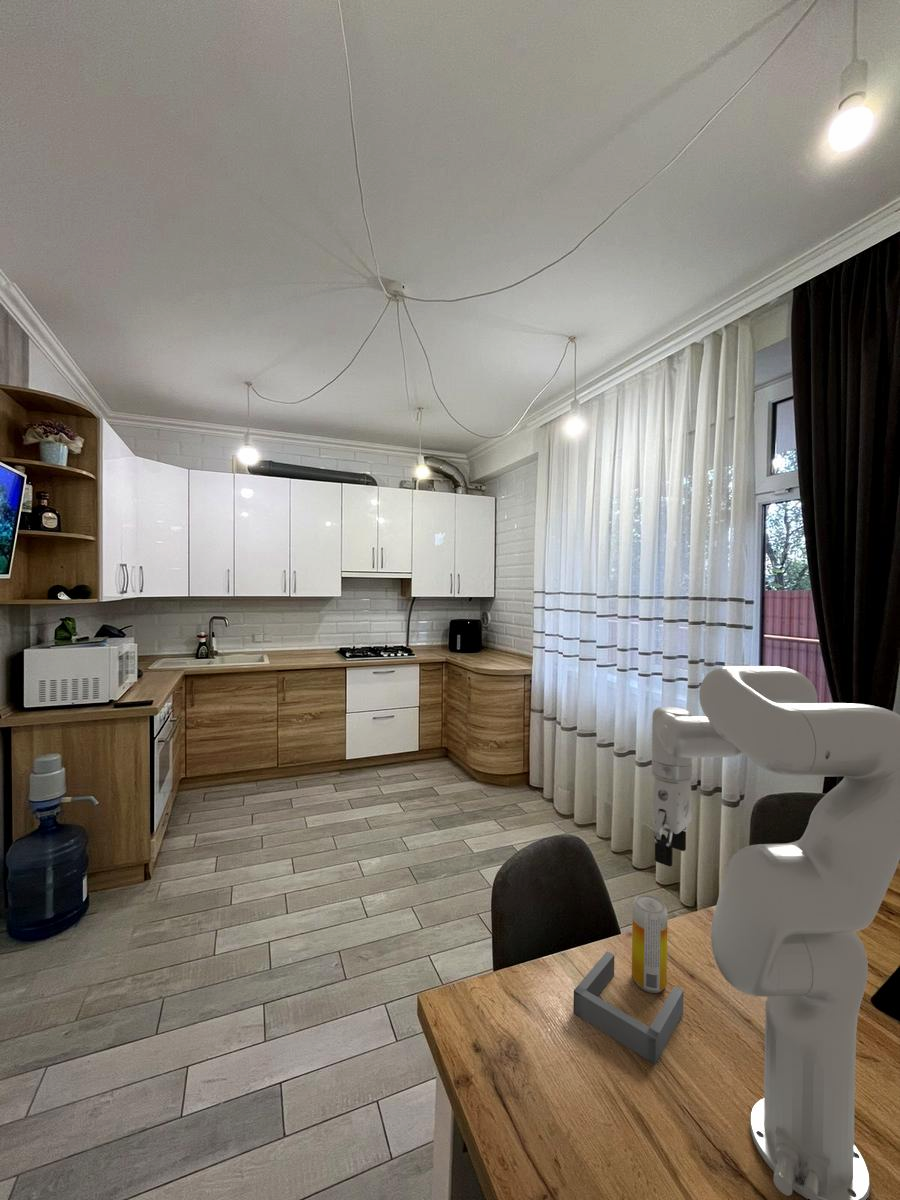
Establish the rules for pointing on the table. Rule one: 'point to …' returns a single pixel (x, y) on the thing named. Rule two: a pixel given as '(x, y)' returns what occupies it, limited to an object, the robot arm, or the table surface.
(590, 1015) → the corral
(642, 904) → the beer can
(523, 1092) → the table surface
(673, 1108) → the table surface
